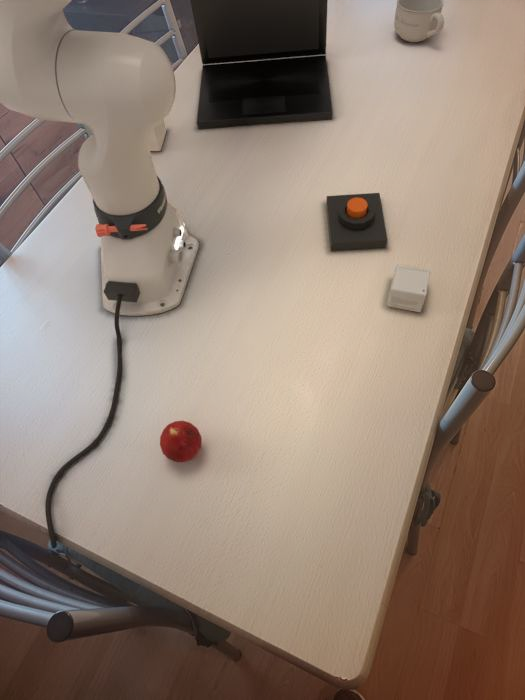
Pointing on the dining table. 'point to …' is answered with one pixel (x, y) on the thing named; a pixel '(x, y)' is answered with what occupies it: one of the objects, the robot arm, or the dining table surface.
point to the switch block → (355, 224)
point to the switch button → (357, 208)
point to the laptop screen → (259, 29)
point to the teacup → (418, 19)
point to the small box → (408, 288)
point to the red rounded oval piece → (180, 441)
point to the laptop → (264, 92)
